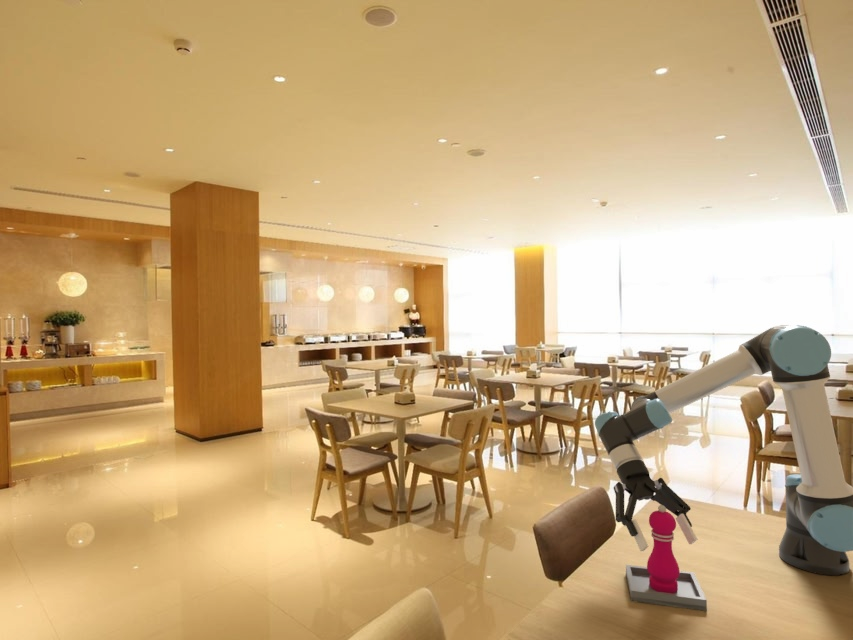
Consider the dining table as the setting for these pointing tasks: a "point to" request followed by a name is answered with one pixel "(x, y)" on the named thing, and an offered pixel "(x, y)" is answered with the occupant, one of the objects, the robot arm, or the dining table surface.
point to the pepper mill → (662, 553)
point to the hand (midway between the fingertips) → (669, 545)
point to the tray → (685, 596)
